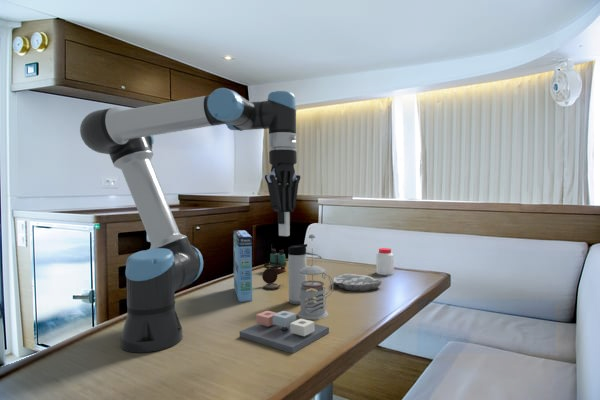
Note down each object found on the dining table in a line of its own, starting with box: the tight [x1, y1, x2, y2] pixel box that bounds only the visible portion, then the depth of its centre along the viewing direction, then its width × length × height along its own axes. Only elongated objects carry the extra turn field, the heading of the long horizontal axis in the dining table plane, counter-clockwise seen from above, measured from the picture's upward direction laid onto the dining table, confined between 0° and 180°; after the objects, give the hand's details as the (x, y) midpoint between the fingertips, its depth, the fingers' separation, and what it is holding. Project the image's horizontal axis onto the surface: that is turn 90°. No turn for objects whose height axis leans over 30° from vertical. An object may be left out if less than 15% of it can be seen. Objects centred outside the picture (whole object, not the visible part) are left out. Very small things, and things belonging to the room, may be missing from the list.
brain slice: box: [332, 273, 382, 292], centre depth 155 cm, size 20×17×3 cm
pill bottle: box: [375, 247, 395, 276], centre depth 177 cm, size 8×8×11 cm
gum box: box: [233, 230, 253, 303], centre depth 145 cm, size 20×5×23 cm, turn 14°
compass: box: [261, 268, 285, 291], centre depth 155 cm, size 8×8×7 cm
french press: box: [296, 234, 334, 321], centre depth 122 cm, size 10×12×25 cm
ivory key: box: [290, 318, 315, 336], centre depth 102 cm, size 4×4×4 cm
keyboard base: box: [239, 318, 330, 354], centre depth 105 cm, size 16×18×2 cm
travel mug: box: [287, 243, 308, 305], centre depth 135 cm, size 6×7×20 cm
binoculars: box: [263, 248, 287, 275], centre depth 182 cm, size 9×11×10 cm
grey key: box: [273, 310, 297, 330], centre depth 105 cm, size 4×4×4 cm
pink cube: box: [255, 310, 277, 327], centre depth 109 cm, size 4×4×4 cm
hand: (284, 235), depth 108 cm, fingers closed
